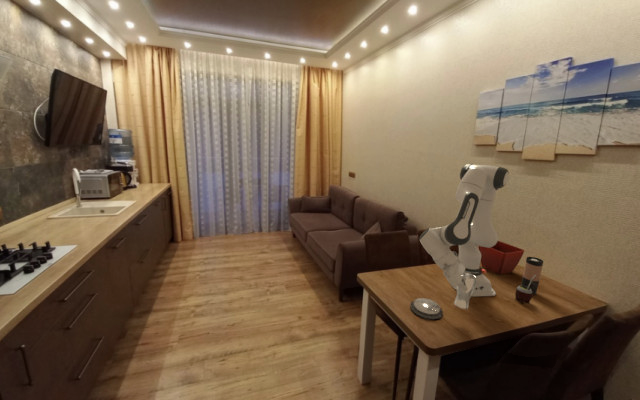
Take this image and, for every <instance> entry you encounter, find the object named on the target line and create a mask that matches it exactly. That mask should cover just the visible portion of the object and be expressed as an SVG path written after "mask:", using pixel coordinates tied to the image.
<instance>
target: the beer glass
mask: <svg viewBox="0 0 640 400" xmlns="http://www.w3.org/2000/svg"><path fill="white" fill-rule="evenodd" d="M463 273H464V275H462V274H461V275H462V283H463V284H464V285H466V287H467V288H468V290H467V291H465V292H464V291H463V290H462V288H460V287H459V286H457V290H456V295H455V296H456V297H455V299H454V301H453V304H454V305H455V306H456V307H457V308H459V309H462V310H468V309H469V307H470V306H469V304H470V300H471V298H472V296H471V295H472V293H473V291H474V289H475V285H476V279H477V277H476V276H475V275H473V274H470V273H467V272H463Z"/></svg>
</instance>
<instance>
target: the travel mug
mask: <svg viewBox="0 0 640 400" xmlns="http://www.w3.org/2000/svg"><path fill="white" fill-rule="evenodd" d="M525 259H526V260H525V263H524V269H523V274H522V278H521V282H520V283H521V285H522V286H527V287H528V285H529V283H530V281H531V279H532V278H533V277H534V276H535V275H536V276H535V277H534V278H533V280H532V282H531V284H530V286H529V288H530V289H531V290H532V296H536V295H537V290H538V287H539V284H540V280H541V275H542V271H543V265H544V260H543V259H541V258H539V257H535V256H527V257H526V258H525Z"/></svg>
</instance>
